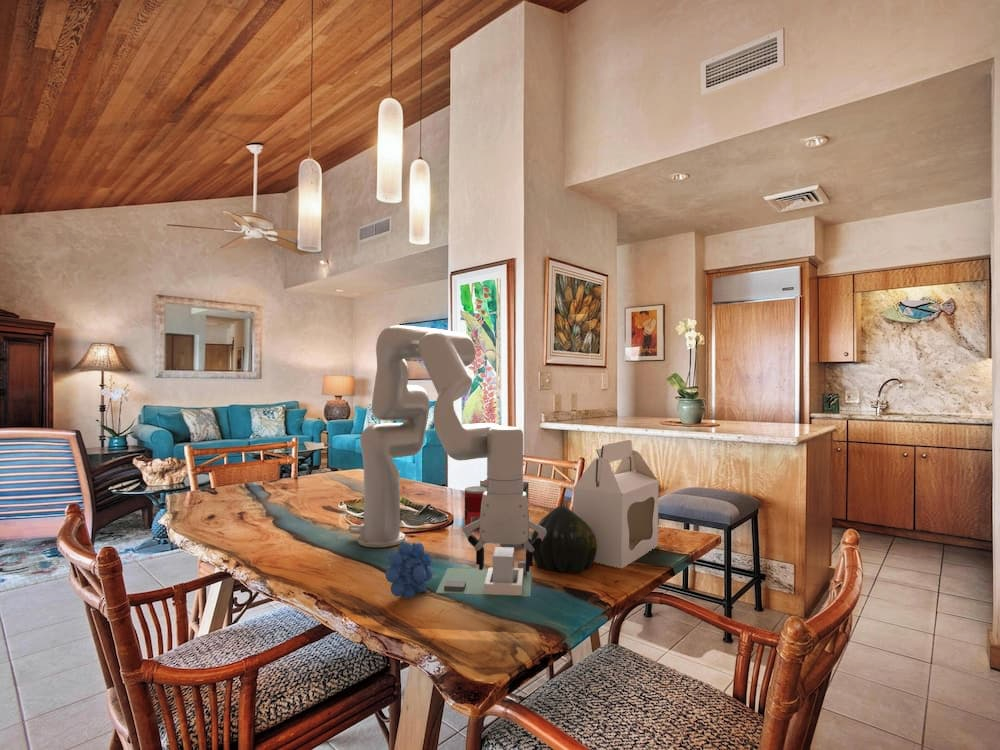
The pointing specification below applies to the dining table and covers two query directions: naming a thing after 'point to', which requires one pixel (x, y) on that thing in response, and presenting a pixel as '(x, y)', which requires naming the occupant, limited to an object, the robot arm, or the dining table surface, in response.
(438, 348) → the robot arm
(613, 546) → the gable box
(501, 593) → the frame
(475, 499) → the canned food
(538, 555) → the squash
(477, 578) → the board
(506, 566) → the plug
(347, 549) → the dining table surface
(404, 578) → the grapes
